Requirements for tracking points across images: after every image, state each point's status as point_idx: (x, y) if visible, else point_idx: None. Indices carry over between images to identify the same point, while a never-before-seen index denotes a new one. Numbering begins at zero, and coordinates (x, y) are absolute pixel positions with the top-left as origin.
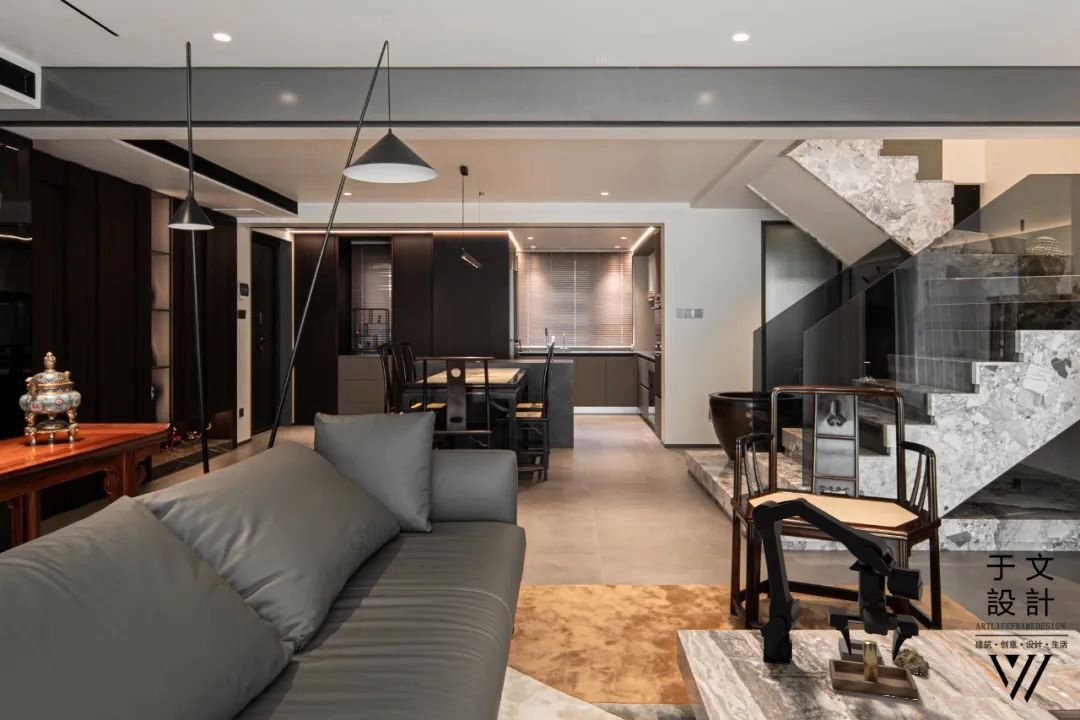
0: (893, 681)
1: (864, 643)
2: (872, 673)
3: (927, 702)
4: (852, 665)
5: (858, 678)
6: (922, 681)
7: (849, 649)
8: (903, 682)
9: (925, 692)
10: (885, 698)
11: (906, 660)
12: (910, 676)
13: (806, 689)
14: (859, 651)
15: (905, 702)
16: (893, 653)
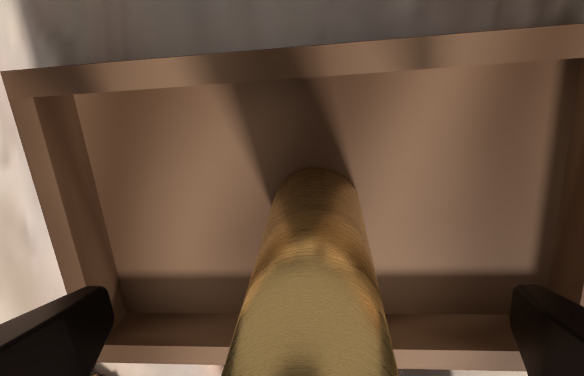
0: (188, 246)
1: None
2: (305, 193)
3: (8, 66)
4: (424, 337)
5: (394, 219)
6: None
7: (582, 317)
8: (136, 251)
9: (33, 194)
10: (240, 17)
11: None
12: (68, 261)
13: None
14: None
15: (121, 9)
16: (44, 323)
